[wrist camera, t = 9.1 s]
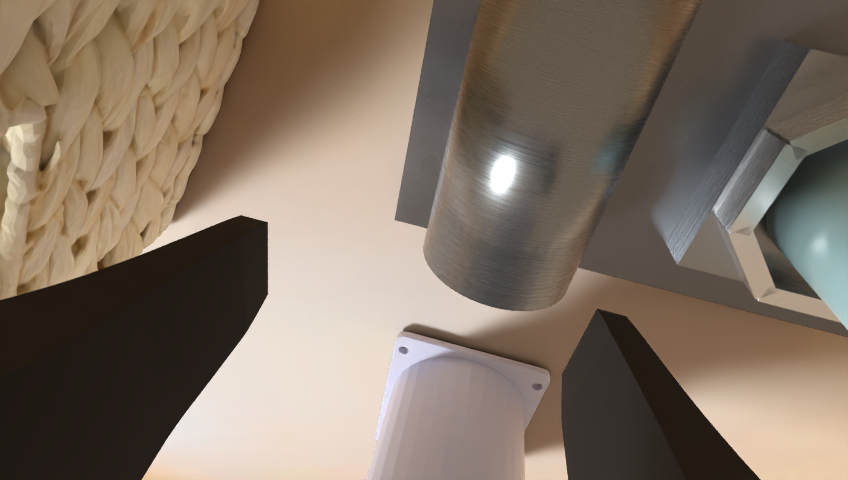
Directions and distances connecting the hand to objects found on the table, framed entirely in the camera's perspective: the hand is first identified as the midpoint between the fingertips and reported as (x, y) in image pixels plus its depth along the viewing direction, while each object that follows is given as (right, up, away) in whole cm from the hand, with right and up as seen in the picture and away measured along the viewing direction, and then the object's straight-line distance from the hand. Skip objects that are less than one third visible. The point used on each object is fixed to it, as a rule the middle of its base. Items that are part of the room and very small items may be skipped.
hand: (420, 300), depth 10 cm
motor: (+9, +5, +6) cm, 12 cm away
